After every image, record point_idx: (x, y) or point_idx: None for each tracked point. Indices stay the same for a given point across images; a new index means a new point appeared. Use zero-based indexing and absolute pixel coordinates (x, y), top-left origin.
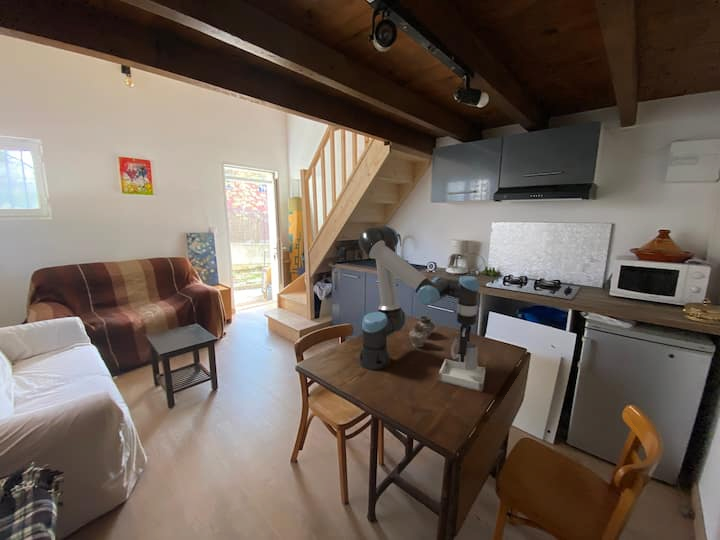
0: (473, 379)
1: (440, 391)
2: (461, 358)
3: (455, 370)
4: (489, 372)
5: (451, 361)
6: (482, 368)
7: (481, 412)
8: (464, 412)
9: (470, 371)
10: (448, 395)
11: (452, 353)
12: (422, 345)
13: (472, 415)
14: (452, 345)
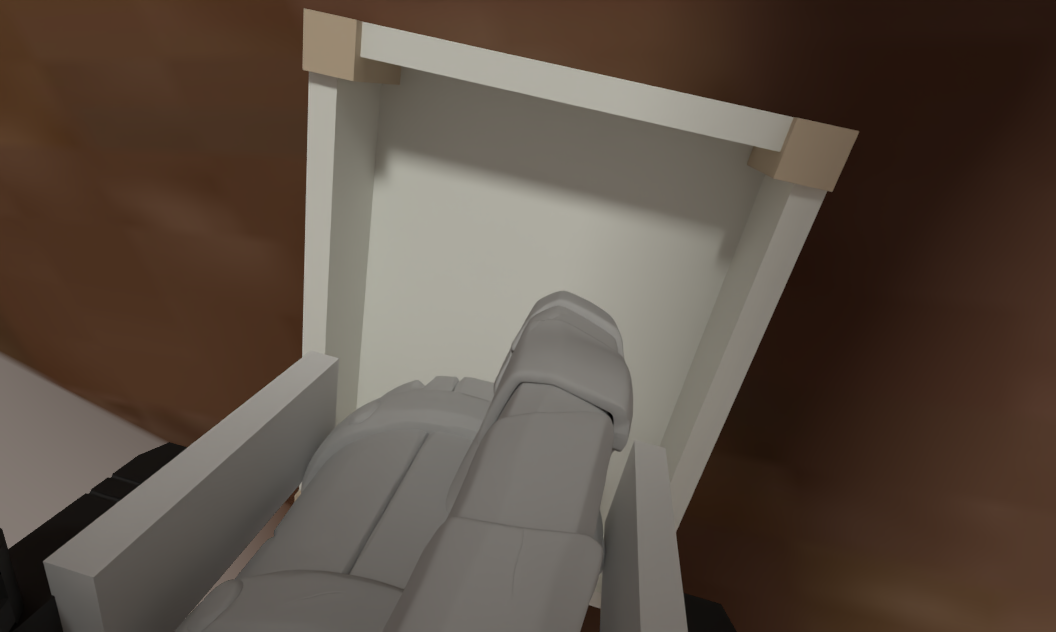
0: None
1: (170, 66)
2: (78, 519)
3: (645, 275)
4: (701, 593)
5: (766, 246)
6: None
7: (87, 400)
8: (12, 281)
9: (652, 441)
10: (149, 157)
11: (518, 332)
12: None
13: (17, 334)
14: (487, 476)
